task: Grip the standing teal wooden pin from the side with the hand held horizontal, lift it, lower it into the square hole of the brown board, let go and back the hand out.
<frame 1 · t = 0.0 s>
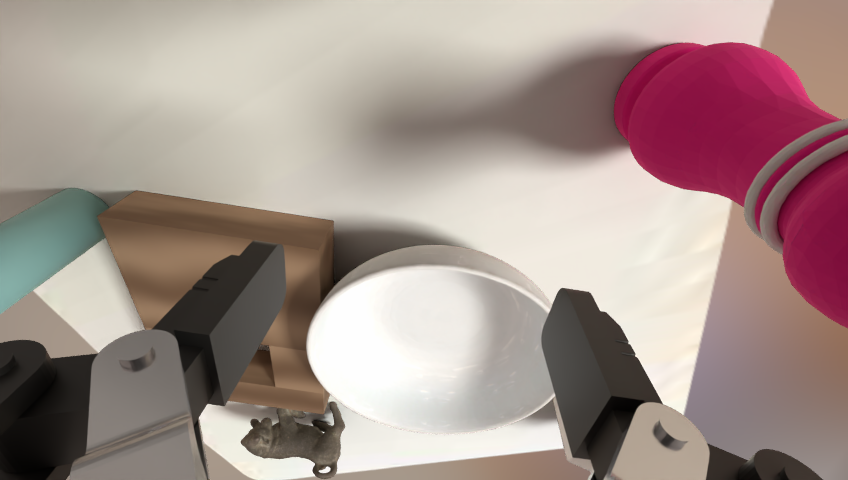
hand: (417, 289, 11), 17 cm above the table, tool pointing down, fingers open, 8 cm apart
pepper mill: (664, 97, 24), on the table
serving bowl: (439, 305, 35), on the table
dog figurine: (303, 407, 47), on the table
medicine bottle: (597, 390, 41), on the table
socket board: (252, 302, 37), on the table
pin: (87, 212, 32), on the table
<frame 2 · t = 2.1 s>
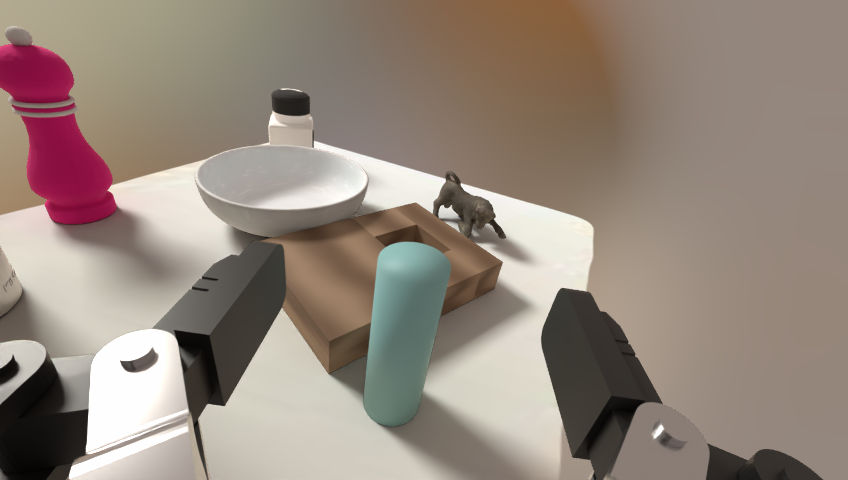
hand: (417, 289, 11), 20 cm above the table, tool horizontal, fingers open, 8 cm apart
pepper mill: (85, 213, 46), on the table
serving bowl: (289, 218, 52), on the table
dog figurine: (463, 230, 57), on the table
medicine bottle: (293, 160, 69), on the table
socket board: (381, 280, 43), on the table
pin: (391, 399, 31), on the table
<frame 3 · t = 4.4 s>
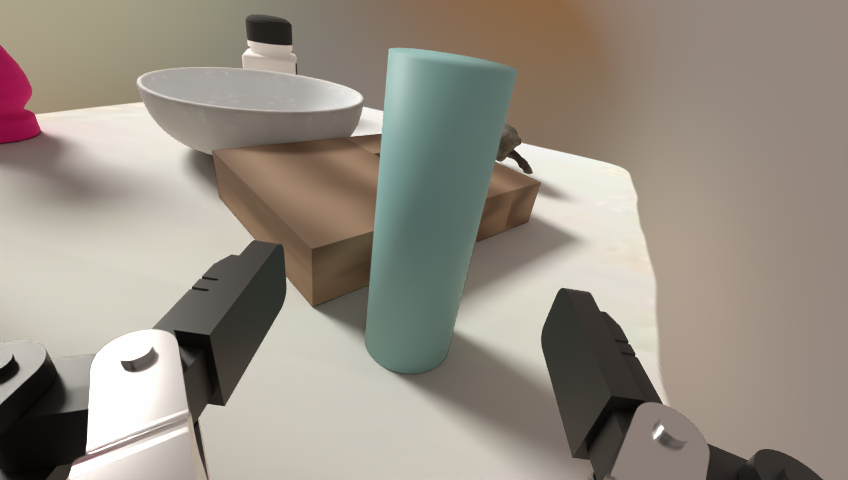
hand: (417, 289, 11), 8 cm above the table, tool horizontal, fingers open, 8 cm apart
serving bowl: (266, 151, 42), on the table
dog figurine: (478, 169, 47), on the table
medicine bottle: (274, 105, 59), on the table
socket board: (383, 210, 33), on the table
pin: (407, 339, 20), on the table
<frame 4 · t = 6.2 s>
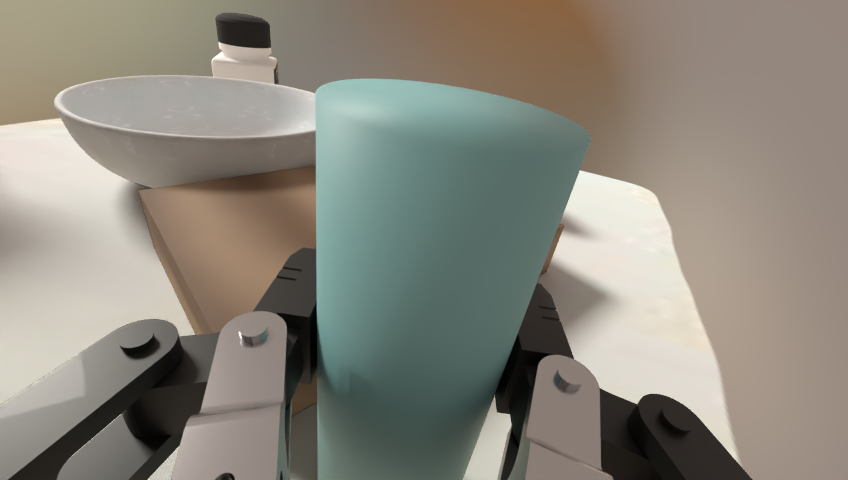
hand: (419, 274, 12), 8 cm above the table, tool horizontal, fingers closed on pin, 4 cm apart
serving bowl: (231, 176, 35), on the table
medicine bottle: (251, 115, 52), on the table
socket board: (365, 260, 26), on the table
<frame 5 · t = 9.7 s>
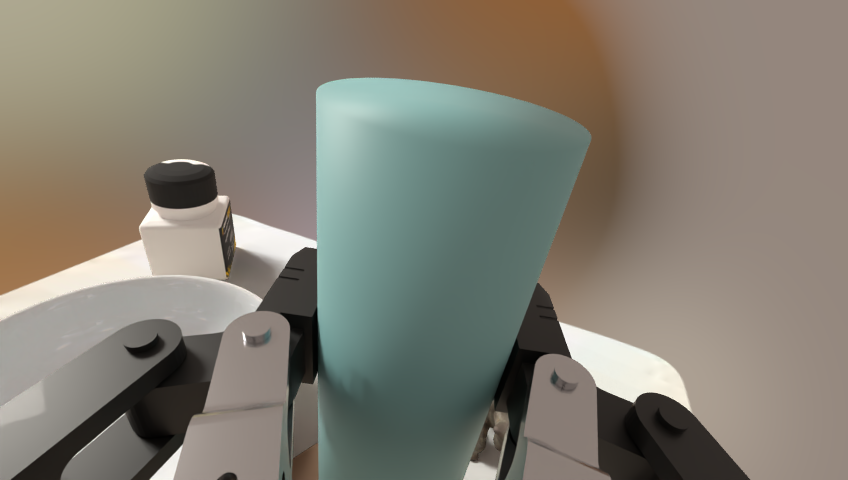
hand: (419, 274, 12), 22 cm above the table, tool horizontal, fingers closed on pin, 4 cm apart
serving bowl: (140, 437, 27), on the table
dog figurine: (469, 424, 32), on the table
medicine bottle: (199, 264, 44), on the table
when the fingers open (10 cm above the table, at t = 12.7 s): pin drops 1 cm, resting in socket board.
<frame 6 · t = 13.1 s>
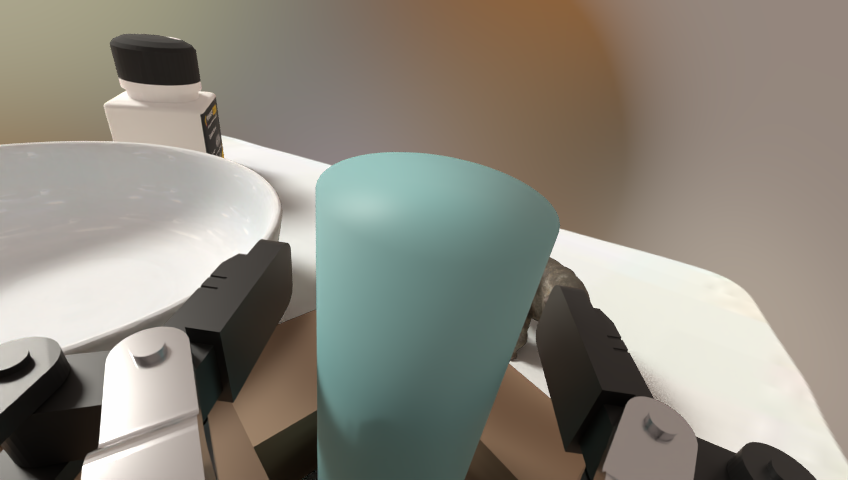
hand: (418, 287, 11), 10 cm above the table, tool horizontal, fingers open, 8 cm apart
serving bowl: (88, 320, 21), on the table
dog figurine: (503, 325, 25), on the table
medicine bottle: (180, 172, 38), on the table
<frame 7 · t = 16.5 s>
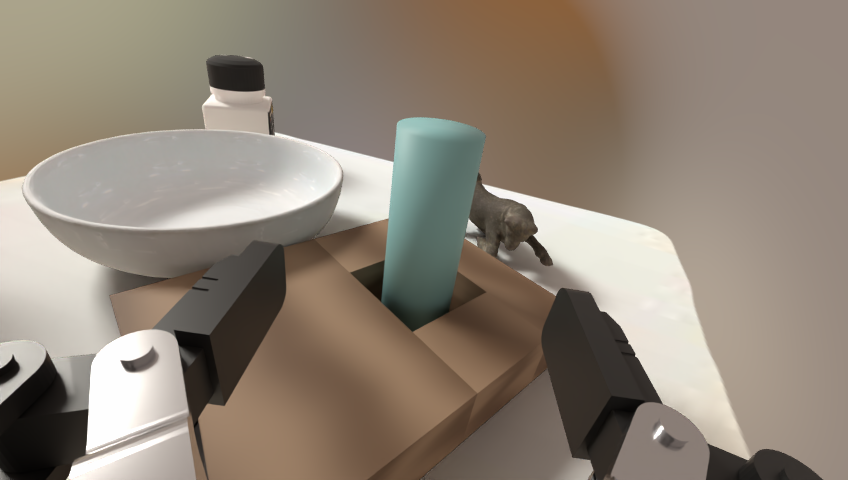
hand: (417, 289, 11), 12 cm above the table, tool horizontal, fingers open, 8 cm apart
serving bowl: (220, 240, 33), on the table
dog figurine: (484, 251, 37), on the table
medicine bottle: (246, 157, 50), on the table
socket board: (363, 352, 24), on the table
pin: (411, 328, 26), resting in socket board
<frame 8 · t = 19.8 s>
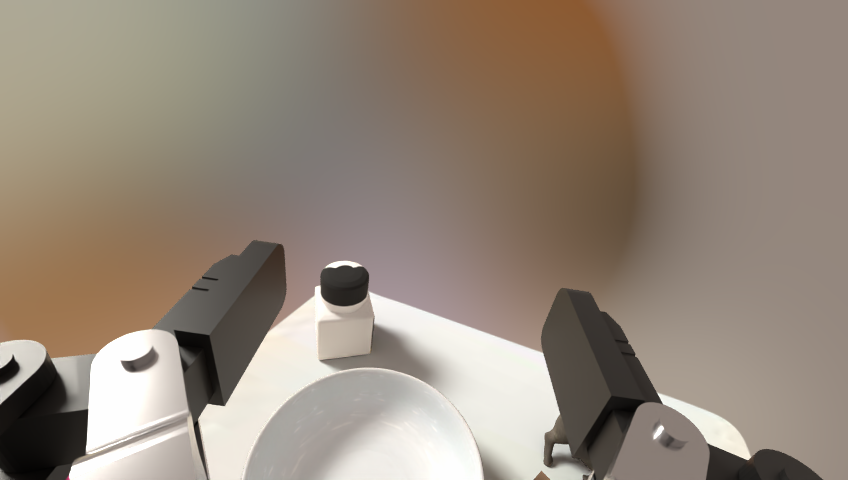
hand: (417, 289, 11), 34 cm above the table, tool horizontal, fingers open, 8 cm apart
medicine bottle: (342, 339, 53), on the table
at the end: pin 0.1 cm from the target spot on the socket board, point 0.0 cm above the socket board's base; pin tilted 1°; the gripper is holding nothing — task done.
